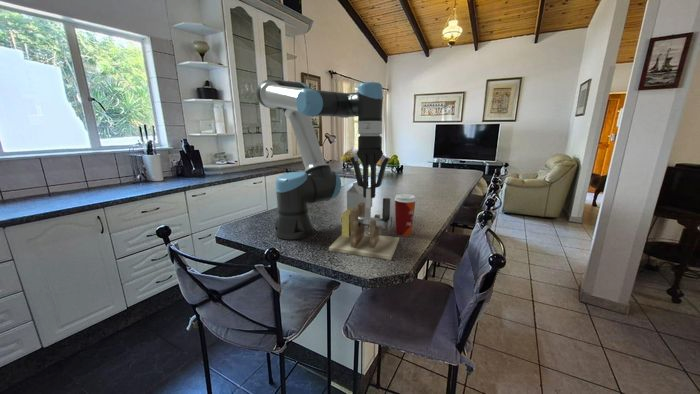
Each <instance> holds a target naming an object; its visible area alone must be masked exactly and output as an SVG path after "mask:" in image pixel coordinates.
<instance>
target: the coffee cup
mask: <svg viewBox="0 0 700 394" xmlns="http://www.w3.org/2000/svg"><path fill="white" fill-rule="evenodd" d="M393 200H394V206H395V207H394V208H395V209H394V213H395V214H394V215H395V217H394V218H395V235H398V236H401V237H409V236H411V235H412V232H413V226H414V225H413V224H414V218H415V217H414V216H415V215H414V214H415V206H416V202H417V199H416V196H415V195H414V194H410V193H409V194H408V193H399V194H395V197H394V199H393Z"/></svg>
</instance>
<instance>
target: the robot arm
mask: <svg viewBox="0 0 700 394" xmlns="http://www.w3.org/2000/svg"><path fill="white" fill-rule="evenodd" d="M383 93H384V92H383V85H382V83H380V82H375V81H366V82H361V83H359V84H358V85H357V91H356V92H340V91H329V90H328V91H327V90H320V89H312V88H310V87H309V86H308V84H305V83H304V82H300V81H290V80H281V79H272V78H271V79H269V78H268V79H265V80H263V81H261V82H260V83H259V84H258V85H257V87H256V90H255V94H256V95H255V96H256V99H257V101H258V103H259V104H260V105H262V106H263V107H264V108H268V109H272V110H281V111H282V112H283V114H284V117H285V118H287V119H289V121H290V124H291V127H292V131H293V133H294V134H293V135H294V137H295V141H296V142H297V146H298V149H299V153H300V156H301V159H302V163H303V165H304V168H305V169H304V171H295V172H293V171H292V172H287V173H283V174H281V175H279V176H278V177H276V181H275V193H276V194H275V195H276V205H277V206H276V207H277V216H276V217H277V218H276V221H275V225H274V229H273V230H274V236H275V237H276V238H279V239H281V240H290V241H291V240H300V239H304V238H308V237H309V236H311V235H312V234H314V231H315V230H314V224H313V222H312V218H311V216H310V212H309V205H312V204H317V203H322V202H328V201H331V200H334V199H336V198H337V197H338V196H339V195H340V193H341V189H342V180H341V176H340V174H339V173H337V172H336V171H333V170H332V168H331V165H330V164H328V163H326V161H325V158H324V156H323V152H322V149H321V146H320V143H319V140H318V137H317V133H316V132H315V128H314V124H313V121H312V118H311V117H333V118H334V117H335V118H336V117H337V118H345V119H347V118H355V117H357V118H358V119H357V133H358V135H359V136H358V137H357V142H358V143H357V150H356V154H355V155H353V156H351V157H350V159H349V160H350V162H351V163H352V167H353V170H354V174H355V179H356V182H357V184H358V186H361V187H363V197H364V198H366V208H371V209H372V207H373V199H375V198H376V191H377V190H376V188H380V186H382V183H383V178H384V175H385V172H386V168H387V165H388V163H389V162H390V160H391V159H390V157H388V156H385V155H384V152H383V149H382V148H383V147H382V146H383V144H382V143H383V137H382V133H383V104H384V103H383V102H384V101H383V100H384V96H383V95H384V94H383ZM359 160H360V162H361V163H362V172H361V167H360V164H359ZM379 161H380V162H381V165H380V169H379V171H378V172H379V173H378V176H377V165H378V163H379ZM369 168H370V170H369ZM369 171H370V185H369Z"/></svg>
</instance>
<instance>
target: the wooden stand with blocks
mask: <svg viewBox="0 0 700 394" xmlns="http://www.w3.org/2000/svg"><path fill="white" fill-rule="evenodd" d="M359 216H363V217H365V203H363V202H361V203H359V204H358V208H354V209H352V210H351V236H350V237H342V234H341V235H339V236H338V238H337V239H336V240H335V241H333V243H332V244H330V246H329V247H328V251H329V252H335V253H342V254H349V255H354V256H362V257H367V258H368V257H369V258H375V259H382V260H388V261H392V259H393V257H394V253H395V251H396V249H397V246H398V244H399V242H400V237H398V236H397V237H395V236H390V235H389V236H388V235H380V228H381V227H376V220H371V221H370V226H369V233H366V232H365V228H364V225H358V221H359ZM373 218H381V214H375V215H374V217H373Z"/></svg>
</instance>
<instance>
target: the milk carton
mask: <svg viewBox="0 0 700 394" xmlns="http://www.w3.org/2000/svg"><path fill="white" fill-rule="evenodd" d="M361 202H363V203H365V217H371V215H372V213H371V212H372V207H371V208H366V198H364V197H363V187H361V186H358V184H357V181H356V182H352V186H351V187H350V188H349V189H348V190H347V191H346V210H348V209H349V208H358V204H359V203H361ZM368 227H369V226H365V225H364V229H365V228H368Z"/></svg>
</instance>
